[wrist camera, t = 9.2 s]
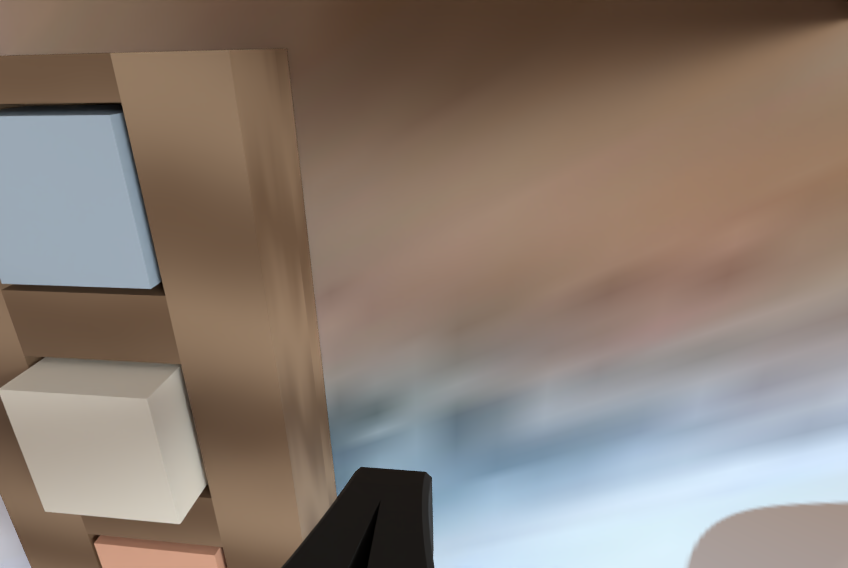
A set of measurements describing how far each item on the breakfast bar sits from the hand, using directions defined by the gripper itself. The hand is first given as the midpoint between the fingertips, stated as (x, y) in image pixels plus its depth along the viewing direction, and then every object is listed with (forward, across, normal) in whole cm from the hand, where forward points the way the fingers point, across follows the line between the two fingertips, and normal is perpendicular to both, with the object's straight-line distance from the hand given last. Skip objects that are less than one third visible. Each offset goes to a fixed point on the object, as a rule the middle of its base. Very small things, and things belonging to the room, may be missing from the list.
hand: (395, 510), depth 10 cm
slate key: (+9, +11, -4) cm, 15 cm away
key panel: (+10, +11, +4) cm, 16 cm away
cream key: (+8, +11, +4) cm, 14 cm away
